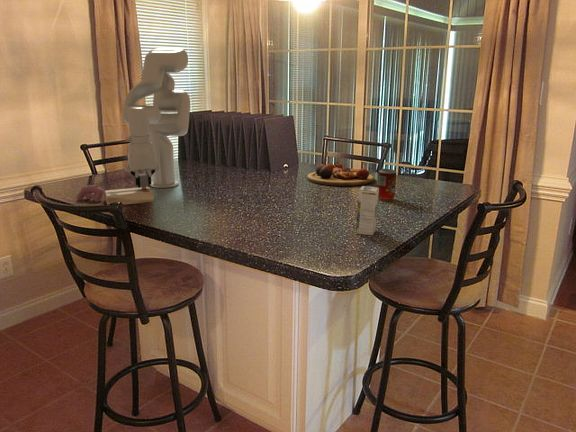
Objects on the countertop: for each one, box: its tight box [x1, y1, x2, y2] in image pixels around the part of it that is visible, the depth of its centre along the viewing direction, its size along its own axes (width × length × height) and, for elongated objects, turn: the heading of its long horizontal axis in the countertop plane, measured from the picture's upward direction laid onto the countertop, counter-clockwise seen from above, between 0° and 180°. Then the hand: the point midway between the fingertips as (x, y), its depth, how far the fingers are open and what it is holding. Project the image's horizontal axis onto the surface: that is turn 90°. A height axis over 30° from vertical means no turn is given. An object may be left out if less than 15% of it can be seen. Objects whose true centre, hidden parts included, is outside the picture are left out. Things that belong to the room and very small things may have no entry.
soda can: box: [377, 168, 398, 202], centre depth 194 cm, size 7×7×12 cm
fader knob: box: [138, 172, 149, 189], centre depth 189 cm, size 5×3×6 cm, turn 25°
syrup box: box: [355, 185, 379, 236], centre depth 153 cm, size 6×6×14 cm
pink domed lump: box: [76, 184, 105, 203], centre depth 189 cm, size 10×5×7 cm, turn 72°
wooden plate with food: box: [306, 161, 375, 187], centre depth 231 cm, size 32×32×8 cm
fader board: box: [104, 186, 155, 205], centre depth 188 cm, size 9×17×4 cm, turn 115°
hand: (143, 186), depth 190 cm, fingers closed on fader knob, 3 cm apart
